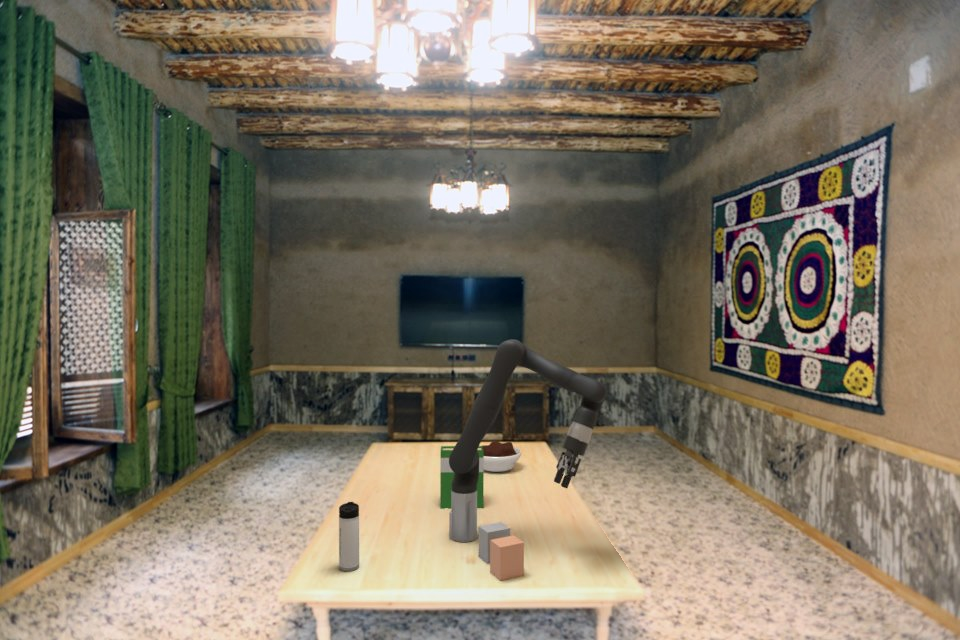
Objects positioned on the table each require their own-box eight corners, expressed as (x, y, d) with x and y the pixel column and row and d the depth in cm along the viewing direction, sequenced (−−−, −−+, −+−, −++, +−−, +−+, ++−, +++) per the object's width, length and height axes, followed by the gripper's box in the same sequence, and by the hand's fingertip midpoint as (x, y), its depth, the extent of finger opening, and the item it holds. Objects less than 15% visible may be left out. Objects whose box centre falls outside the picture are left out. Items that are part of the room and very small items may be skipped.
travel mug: (360, 562, 194) (360, 501, 193) (357, 571, 187) (357, 508, 186) (341, 562, 193) (341, 501, 193) (337, 571, 187) (337, 508, 186)
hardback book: (482, 502, 253) (482, 446, 252) (483, 508, 245) (483, 450, 245) (440, 502, 252) (441, 446, 251) (440, 508, 245) (440, 450, 244)
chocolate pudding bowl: (463, 466, 308) (463, 437, 308) (506, 461, 319) (506, 432, 318) (484, 479, 286) (484, 447, 285) (530, 473, 296) (530, 442, 296)
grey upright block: (487, 563, 193) (487, 532, 192) (478, 556, 198) (478, 526, 198) (510, 558, 197) (510, 528, 196) (500, 551, 202) (500, 521, 202)
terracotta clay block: (500, 580, 181) (500, 547, 181) (490, 572, 187) (490, 540, 187) (523, 574, 185) (523, 542, 185) (513, 566, 191) (513, 535, 190)
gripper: (561, 432, 204) (544, 477, 202) (574, 436, 190) (555, 484, 188) (581, 440, 205) (564, 485, 203) (595, 445, 191) (577, 493, 188)
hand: (560, 485), depth 195 cm, fingers open, 8 cm apart
